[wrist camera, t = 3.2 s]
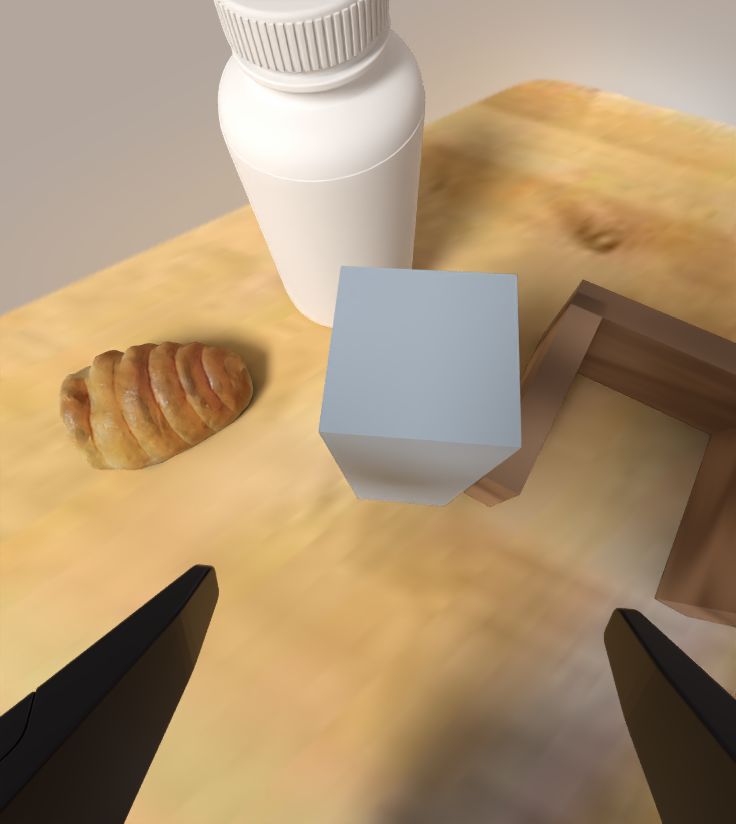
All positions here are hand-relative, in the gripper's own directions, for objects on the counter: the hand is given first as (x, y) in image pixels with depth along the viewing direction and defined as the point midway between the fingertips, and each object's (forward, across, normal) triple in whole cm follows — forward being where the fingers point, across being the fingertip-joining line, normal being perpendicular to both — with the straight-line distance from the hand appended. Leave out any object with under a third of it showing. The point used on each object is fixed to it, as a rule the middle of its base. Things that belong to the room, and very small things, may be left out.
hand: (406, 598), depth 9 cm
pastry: (+14, +14, +3) cm, 20 cm away
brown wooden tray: (+13, -11, +4) cm, 17 cm away
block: (+12, 0, +4) cm, 13 cm away
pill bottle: (+20, +4, -4) cm, 21 cm away
